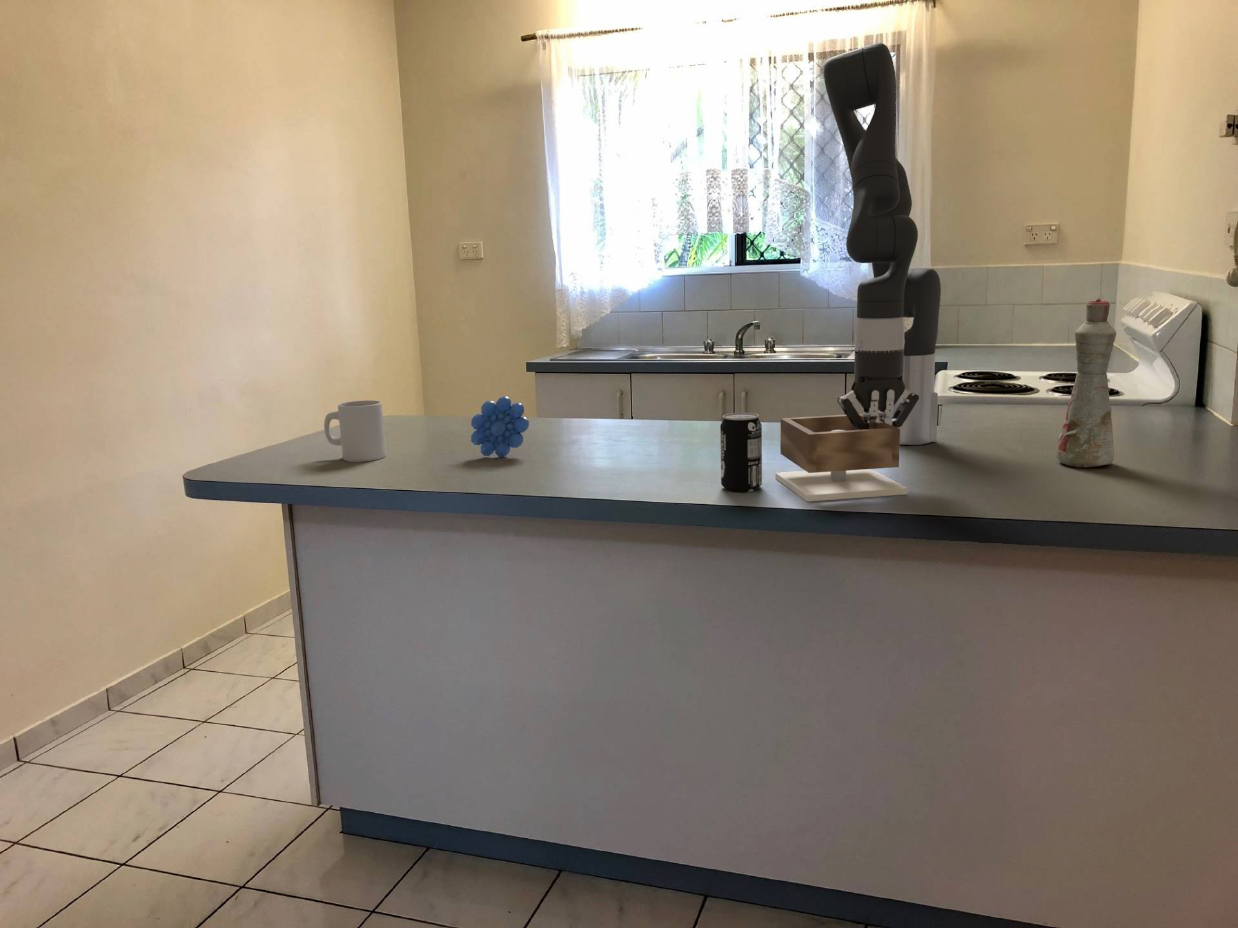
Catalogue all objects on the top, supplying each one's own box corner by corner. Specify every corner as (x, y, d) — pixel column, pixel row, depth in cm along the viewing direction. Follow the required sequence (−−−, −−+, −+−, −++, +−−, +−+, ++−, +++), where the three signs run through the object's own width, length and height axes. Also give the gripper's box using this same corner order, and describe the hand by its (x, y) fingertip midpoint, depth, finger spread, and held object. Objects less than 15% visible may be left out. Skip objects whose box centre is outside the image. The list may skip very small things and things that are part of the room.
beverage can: (717, 484, 157) (716, 413, 155) (756, 482, 158) (756, 411, 155) (725, 494, 151) (724, 419, 148) (766, 491, 151) (765, 417, 149)
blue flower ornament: (534, 452, 190) (531, 392, 187) (528, 459, 183) (525, 397, 181) (477, 453, 191) (472, 394, 188) (469, 460, 184) (465, 399, 182)
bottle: (1091, 472, 156) (1103, 300, 150) (1044, 463, 164) (1054, 298, 158) (1125, 465, 160) (1138, 297, 154) (1078, 456, 168) (1089, 296, 162)
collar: (862, 448, 161) (863, 413, 159) (898, 467, 147) (900, 428, 145) (780, 453, 159) (780, 418, 157) (808, 473, 145) (809, 434, 144)
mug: (392, 452, 195) (387, 399, 192) (378, 461, 186) (373, 406, 184) (335, 453, 196) (330, 401, 194) (319, 462, 188) (313, 407, 185)
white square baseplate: (866, 472, 162) (867, 420, 160) (906, 494, 147) (908, 437, 145) (775, 478, 160) (775, 425, 158) (807, 501, 145) (807, 443, 143)
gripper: (909, 342, 154) (906, 447, 158) (829, 346, 152) (828, 452, 156) (930, 346, 147) (927, 456, 151) (846, 350, 145) (844, 461, 149)
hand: (876, 454), depth 153 cm, fingers closed on collar, 1 cm apart
